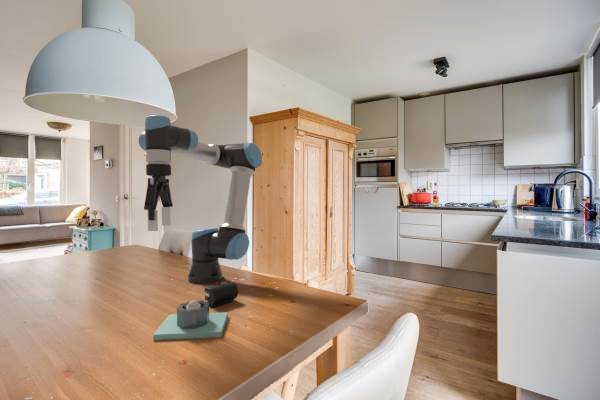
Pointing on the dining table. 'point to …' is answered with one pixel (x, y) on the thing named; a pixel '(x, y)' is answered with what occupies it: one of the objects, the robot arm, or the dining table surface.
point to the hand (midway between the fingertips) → (160, 228)
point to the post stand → (207, 331)
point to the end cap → (221, 293)
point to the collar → (192, 316)
